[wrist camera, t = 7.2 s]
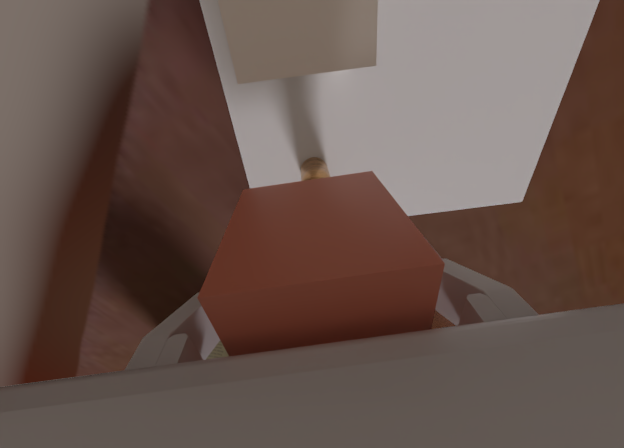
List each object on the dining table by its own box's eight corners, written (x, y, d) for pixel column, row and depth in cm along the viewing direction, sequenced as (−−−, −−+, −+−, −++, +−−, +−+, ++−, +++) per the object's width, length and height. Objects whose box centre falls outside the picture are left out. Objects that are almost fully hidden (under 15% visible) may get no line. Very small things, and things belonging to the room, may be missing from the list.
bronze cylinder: (326, 155, 18) (335, 182, 13) (328, 181, 19) (338, 214, 15) (298, 159, 18) (299, 187, 14) (302, 184, 19) (304, 218, 15)
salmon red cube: (372, 170, 11) (445, 263, 5) (371, 268, 14) (418, 386, 8) (243, 189, 11) (197, 297, 6) (271, 282, 14) (257, 408, 9)
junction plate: (632, -138, 12) (658, -154, 11) (513, 196, 22) (521, 201, 21) (184, -74, 12) (176, -84, 11) (263, 227, 22) (262, 234, 21)
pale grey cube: (345, -70, 12) (381, -173, 7) (349, 66, 15) (376, 65, 10) (231, -54, 12) (183, -143, 7) (257, 79, 15) (237, 84, 10)
